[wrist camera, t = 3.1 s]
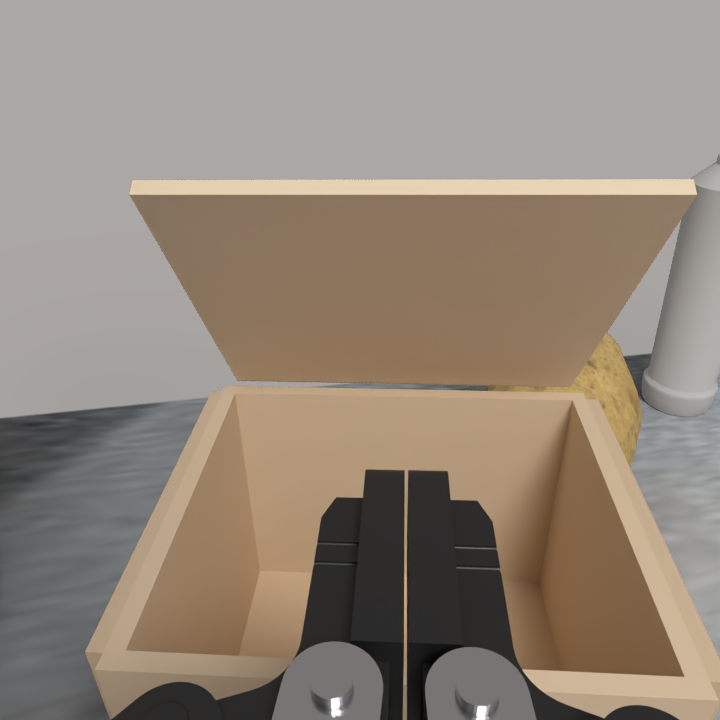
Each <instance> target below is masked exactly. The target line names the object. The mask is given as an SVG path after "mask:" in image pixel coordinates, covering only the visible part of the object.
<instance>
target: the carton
mask: <svg viewBox="0 0 720 720" xmlns="http://www.w3.org/2000/svg"><path fill="white" fill-rule="evenodd" d="M366 469H374V470H405V523H404V674H403V720H407V505H408V470H426V471H448V476H449V488H450V499H451V500H474V501H478V502H479V503H480V505H481V506H482V508H483V509H484V510H485V512H486V513H487V515H488V516H489V517H490V519H491V520H492V522H493V527H494V533H495V539H496V545H497V551H498V557H499V563H500V572H501V575H502V581H503V587H504V593H505V599H506V605H507V611H508V617H509V623H510V629H511V635H512V642H513V648H514V652H515V656H516V658H517V661H518V663H519V665H520V667H521V668H522V670H523V672H524V673H525V674H526V676H527V677H528V678H529V679H530V681H531V682H532V683H533V684H534V685H535V686H537V687H538V688H539V689H540V690H541V691H543V692H544V693H545V694H547V695H548V696H550V697H552V698H553V699H555V700H557V701H559V702H561V703H564V704H566V705H569V706H571V707H574V708H577V709H580V710H582V711H585V712H588V713H591V714H593V715H596V716H599V717H602V718H605V717H606V716H607V715H608V714H609V713H611V712H612V711H614V710H615V709H618V708H620V707H624V706H629V705H643V706H650V707H653V708H656V709H660V710H662V711H664V712H667V713H669V714H671V715H673V716H674V717H676V718H678V719H679V720H714V718H715V716H716V714H717V712H718V709H719V707H720V659H719V657H718V655H717V653H716V650H715V648H714V646H713V644H712V642H711V640H710V638H709V635H708V633H707V631H706V629H705V627H704V625H703V623H702V620H701V618H700V616H699V614H698V612H697V610H696V608H695V606H694V603H693V601H692V599H691V597H690V595H689V593H688V591H687V588H686V586H685V584H684V582H683V580H682V578H681V576H680V574H679V571H678V569H677V567H676V565H675V563H674V561H673V559H672V556H671V554H670V552H669V550H668V548H667V546H666V544H665V542H664V539H663V537H662V535H661V533H660V531H659V529H658V527H657V524H656V522H655V520H654V518H653V516H652V514H651V512H650V510H649V507H648V505H647V503H646V501H645V499H644V497H643V495H642V492H641V490H640V488H639V486H638V484H637V482H636V480H635V478H634V475H633V473H632V471H631V469H630V467H629V465H628V463H627V460H626V458H625V456H624V454H623V452H622V450H621V448H620V446H619V443H618V441H617V439H616V437H615V435H614V433H613V431H612V428H611V426H610V424H609V422H608V420H607V418H606V416H605V413H604V411H603V409H602V407H601V405H600V403H599V401H598V399H586V398H585V396H584V393H561V392H510V391H460V390H409V389H358V388H307V387H253V386H252V387H251V386H225V388H224V390H223V392H211V394H210V396H209V398H208V400H207V402H206V404H205V406H204V408H203V410H202V413H201V415H200V417H199V419H198V421H197V423H196V425H195V427H194V429H193V431H192V433H191V435H190V437H189V439H188V441H187V443H186V445H185V447H184V449H183V452H182V454H181V456H180V458H179V460H178V462H177V464H176V466H175V468H174V470H173V472H172V474H171V476H170V478H169V480H168V482H167V484H166V486H165V488H164V491H163V493H162V495H161V497H160V499H159V501H158V503H157V505H156V507H155V509H154V511H153V513H152V515H151V517H150V519H149V521H148V523H147V525H146V527H145V530H144V532H143V534H142V536H141V538H140V540H139V542H138V544H137V546H136V548H135V550H134V552H133V554H132V556H131V558H130V560H129V562H128V564H127V566H126V569H125V571H124V573H123V575H122V577H121V579H120V581H119V583H118V585H117V587H116V589H115V591H114V593H113V595H112V597H111V599H110V601H109V603H108V605H107V608H106V610H105V612H104V614H103V616H102V618H101V620H100V622H99V624H98V626H97V628H96V630H95V632H94V634H93V636H92V638H91V640H90V642H89V644H88V647H87V649H86V651H85V654H86V656H87V659H88V662H89V664H90V667H91V670H92V672H93V675H94V678H95V680H96V683H97V686H98V688H99V691H100V694H101V696H102V699H103V702H104V704H105V707H106V710H107V712H108V715H109V718H110V720H111V719H112V718H114V717H115V716H116V715H117V714H119V713H120V712H121V711H122V710H124V709H125V708H126V707H127V706H128V705H130V704H131V703H132V702H133V701H135V700H136V699H137V698H138V697H140V696H141V695H143V694H144V693H145V692H147V691H149V690H151V689H153V688H155V687H158V686H160V685H163V684H167V683H172V682H190V683H193V684H197V685H199V686H201V687H203V688H205V689H206V690H207V691H209V692H210V693H211V694H212V696H213V697H214V698H215V699H216V700H218V699H222V698H225V697H229V696H233V695H236V694H240V693H243V692H247V691H250V690H253V689H256V688H259V687H261V686H263V685H265V684H267V683H269V682H271V681H272V680H274V679H275V678H276V677H278V676H279V675H280V674H281V673H282V672H283V671H285V669H286V668H287V667H288V666H289V665H290V663H291V662H292V660H293V659H294V657H295V656H296V653H297V651H298V649H299V646H300V642H301V637H302V631H303V625H304V619H305V613H306V607H307V601H308V595H309V589H310V583H311V576H312V570H313V566H314V558H315V552H316V546H317V540H318V534H319V528H320V522H321V517H322V516H323V514H324V513H325V512H326V510H327V509H328V507H329V506H330V505H331V503H332V502H333V501H334V499H335V498H336V497H350V498H363V491H364V479H365V471H366Z"/></svg>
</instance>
